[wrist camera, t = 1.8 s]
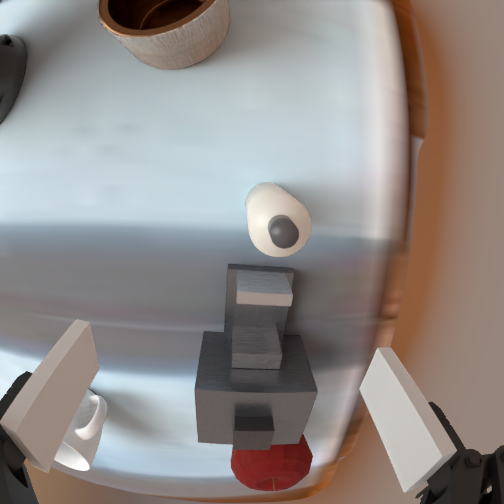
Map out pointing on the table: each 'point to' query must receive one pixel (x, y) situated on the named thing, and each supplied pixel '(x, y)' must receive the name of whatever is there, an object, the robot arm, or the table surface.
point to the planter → (167, 29)
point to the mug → (83, 433)
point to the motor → (254, 366)
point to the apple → (272, 466)
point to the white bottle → (276, 220)
